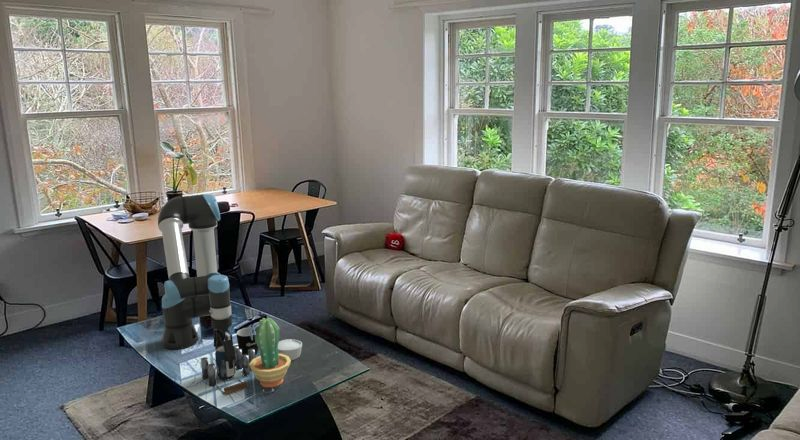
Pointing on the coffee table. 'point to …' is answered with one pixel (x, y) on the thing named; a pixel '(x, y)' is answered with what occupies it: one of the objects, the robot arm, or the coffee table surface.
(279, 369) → the potted cactus
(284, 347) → the ramekin
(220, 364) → the soda can
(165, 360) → the coffee table surface
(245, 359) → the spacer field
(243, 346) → the mug
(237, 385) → the walnut stop
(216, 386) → the bay lines
